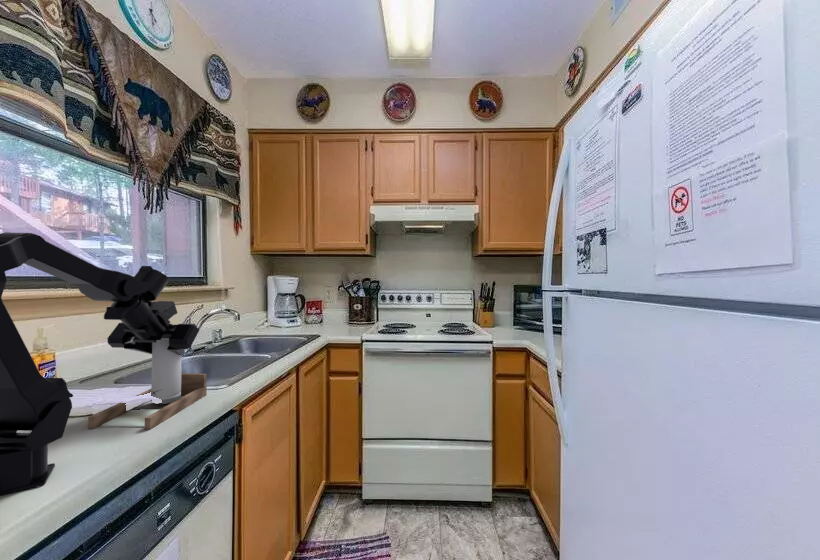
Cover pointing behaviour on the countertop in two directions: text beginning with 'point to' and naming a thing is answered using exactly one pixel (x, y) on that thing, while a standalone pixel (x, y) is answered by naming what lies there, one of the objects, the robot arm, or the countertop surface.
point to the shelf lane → (149, 418)
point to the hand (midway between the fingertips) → (170, 353)
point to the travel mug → (165, 371)
